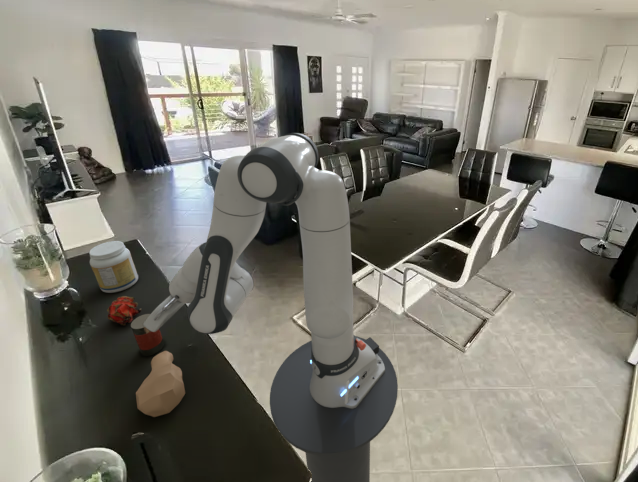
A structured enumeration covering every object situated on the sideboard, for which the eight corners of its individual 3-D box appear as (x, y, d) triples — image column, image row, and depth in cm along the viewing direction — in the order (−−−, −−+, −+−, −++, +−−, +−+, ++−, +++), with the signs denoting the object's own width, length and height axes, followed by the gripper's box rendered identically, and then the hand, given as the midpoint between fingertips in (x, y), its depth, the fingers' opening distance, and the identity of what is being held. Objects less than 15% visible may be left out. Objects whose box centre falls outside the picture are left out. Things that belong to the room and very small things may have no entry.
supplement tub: (105, 279, 130) (91, 243, 123) (141, 272, 135) (129, 237, 128) (96, 298, 120) (80, 260, 113) (135, 289, 125) (122, 252, 118)
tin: (161, 337, 104) (152, 310, 99) (166, 348, 99) (157, 321, 95) (139, 347, 100) (128, 320, 95) (143, 359, 96) (132, 332, 91)
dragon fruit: (126, 311, 116) (135, 333, 109) (98, 310, 109) (105, 334, 102) (138, 291, 116) (147, 311, 109) (111, 289, 109) (118, 311, 102)
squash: (143, 434, 77) (124, 410, 73) (145, 379, 93) (130, 357, 90) (191, 405, 82) (176, 380, 78) (185, 357, 98) (172, 335, 94)
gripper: (170, 320, 77) (149, 348, 82) (221, 270, 95) (201, 295, 101) (148, 304, 76) (128, 333, 81) (204, 257, 94) (184, 283, 100)
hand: (169, 312), depth 91 cm, fingers open, 8 cm apart
